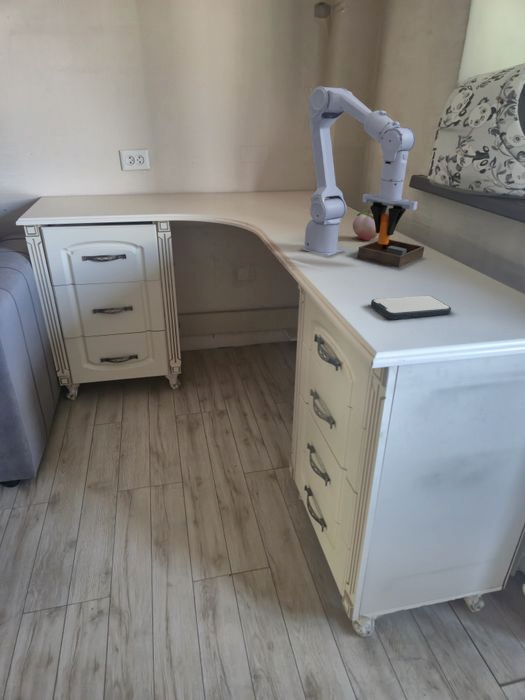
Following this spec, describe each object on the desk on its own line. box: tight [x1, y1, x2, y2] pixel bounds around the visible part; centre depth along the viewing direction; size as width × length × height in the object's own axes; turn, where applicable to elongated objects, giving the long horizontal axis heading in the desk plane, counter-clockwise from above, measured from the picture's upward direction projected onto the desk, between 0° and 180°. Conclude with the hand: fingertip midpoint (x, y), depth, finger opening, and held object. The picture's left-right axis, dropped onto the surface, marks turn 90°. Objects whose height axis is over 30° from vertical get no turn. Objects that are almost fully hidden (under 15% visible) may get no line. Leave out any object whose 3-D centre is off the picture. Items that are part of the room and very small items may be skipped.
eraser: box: [387, 246, 407, 256], centre depth 146 cm, size 5×3×2 cm, turn 49°
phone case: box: [370, 295, 452, 320], centre depth 108 cm, size 9×2×16 cm
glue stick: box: [377, 213, 390, 244], centre depth 129 cm, size 3×3×8 cm
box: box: [357, 238, 425, 268], centre depth 143 cm, size 13×15×4 cm
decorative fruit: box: [352, 209, 379, 242], centre depth 159 cm, size 9×8×10 cm
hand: (384, 233), depth 130 cm, fingers closed on glue stick, 3 cm apart
